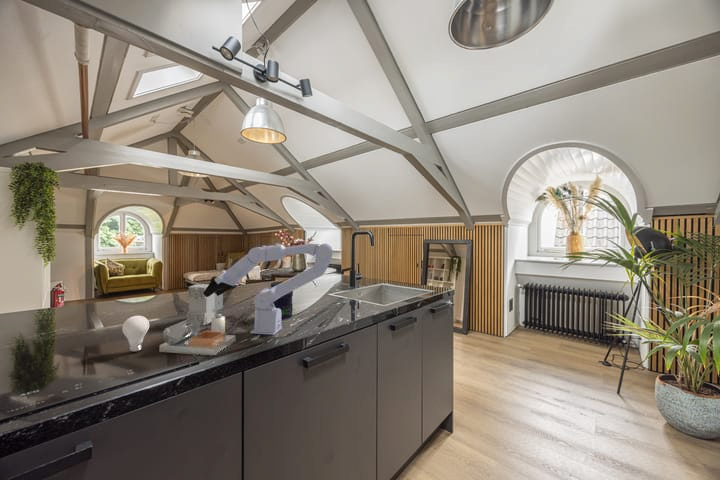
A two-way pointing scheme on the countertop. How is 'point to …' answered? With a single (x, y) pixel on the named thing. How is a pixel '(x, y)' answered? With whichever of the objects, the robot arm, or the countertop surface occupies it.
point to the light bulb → (135, 331)
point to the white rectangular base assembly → (194, 339)
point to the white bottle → (218, 323)
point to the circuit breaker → (203, 304)
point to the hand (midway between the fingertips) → (210, 294)
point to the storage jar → (284, 303)
